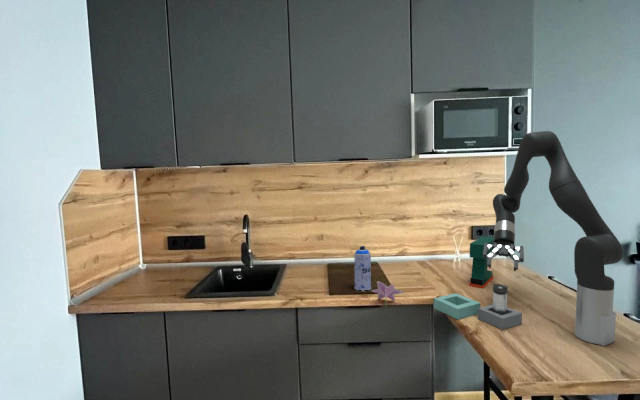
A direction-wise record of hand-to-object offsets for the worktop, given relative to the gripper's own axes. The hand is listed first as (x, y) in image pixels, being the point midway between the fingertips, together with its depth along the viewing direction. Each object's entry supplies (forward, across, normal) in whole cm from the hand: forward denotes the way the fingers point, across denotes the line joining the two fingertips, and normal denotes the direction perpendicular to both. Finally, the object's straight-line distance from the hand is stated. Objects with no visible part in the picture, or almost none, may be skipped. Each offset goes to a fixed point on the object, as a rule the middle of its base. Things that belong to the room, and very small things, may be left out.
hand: (502, 268), depth 133 cm
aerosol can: (+13, -57, +10) cm, 60 cm away
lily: (+22, -42, +2) cm, 47 cm away
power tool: (-16, -9, +40) cm, 44 cm away
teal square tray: (+18, -15, +5) cm, 24 cm away
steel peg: (+20, 0, +3) cm, 20 cm away
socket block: (+20, 0, +3) cm, 20 cm away
